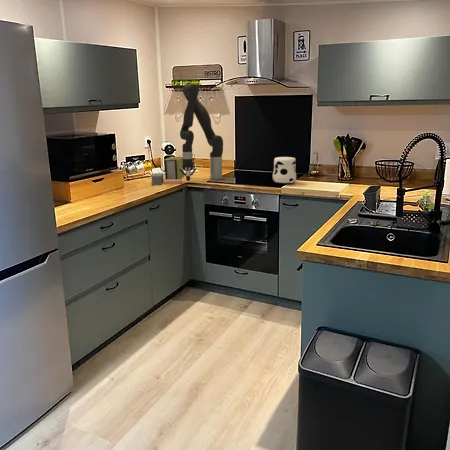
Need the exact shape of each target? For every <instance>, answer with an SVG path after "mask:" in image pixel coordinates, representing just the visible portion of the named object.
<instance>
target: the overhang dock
mask: <svg viewBox="0 0 450 450" xmlns="http://www.w3.org/2000/svg"><path fill="white" fill-rule="evenodd" d="M150 178H151V185H152V186H159V185H160V186H162V185H163V181H164V180H165V179H164V173H163V172H155V173H153V174H152V175H151V177H150Z"/></svg>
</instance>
